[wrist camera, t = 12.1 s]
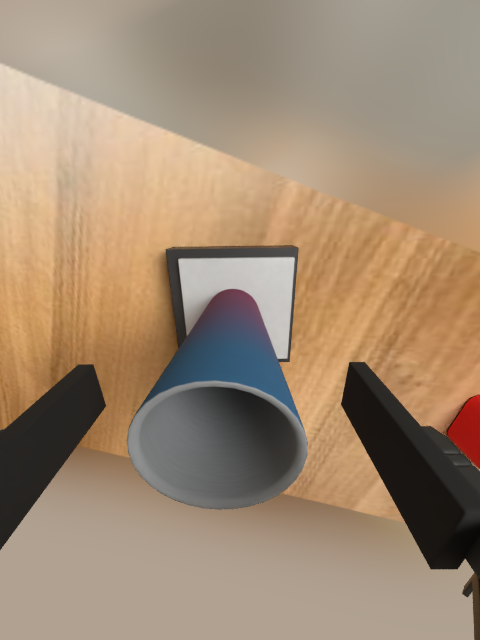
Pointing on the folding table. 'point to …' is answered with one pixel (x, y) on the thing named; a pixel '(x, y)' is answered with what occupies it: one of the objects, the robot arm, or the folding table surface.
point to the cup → (220, 415)
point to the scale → (236, 285)
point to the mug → (468, 430)
